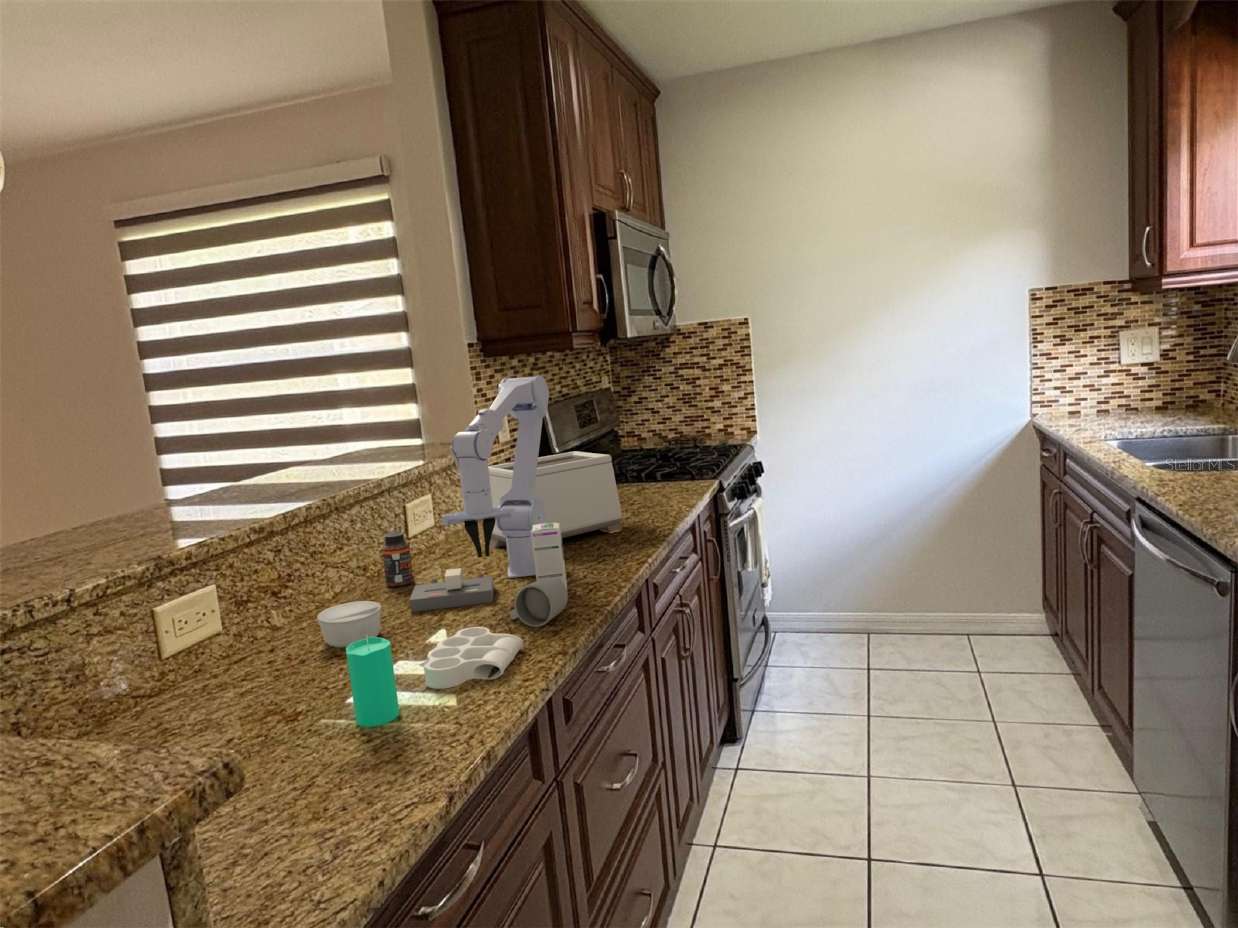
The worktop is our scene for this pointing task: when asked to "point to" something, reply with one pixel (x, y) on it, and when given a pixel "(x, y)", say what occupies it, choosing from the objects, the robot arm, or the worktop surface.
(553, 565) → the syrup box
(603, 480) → the toaster
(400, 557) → the supplement bottle
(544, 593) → the ceramic mug
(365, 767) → the worktop surface
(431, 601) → the panel
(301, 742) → the worktop surface
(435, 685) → the white multi-cup tray
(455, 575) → the breaker knob
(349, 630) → the ramekin
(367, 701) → the candle
